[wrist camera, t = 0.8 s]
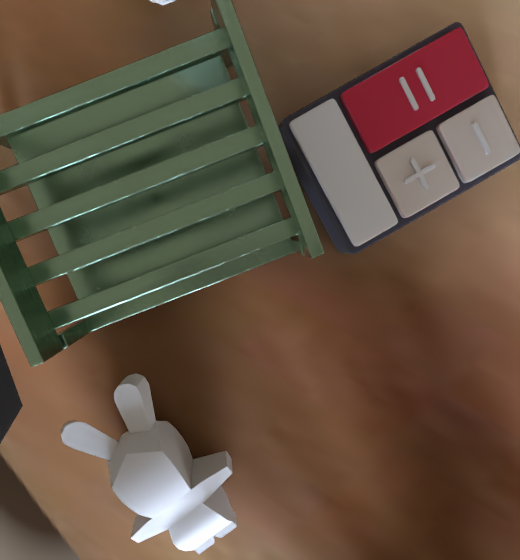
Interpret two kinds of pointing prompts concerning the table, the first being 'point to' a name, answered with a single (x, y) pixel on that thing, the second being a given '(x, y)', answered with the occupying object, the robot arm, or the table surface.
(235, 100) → the rack
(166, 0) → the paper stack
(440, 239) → the table surface
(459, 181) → the calculator
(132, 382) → the bunny figurine
